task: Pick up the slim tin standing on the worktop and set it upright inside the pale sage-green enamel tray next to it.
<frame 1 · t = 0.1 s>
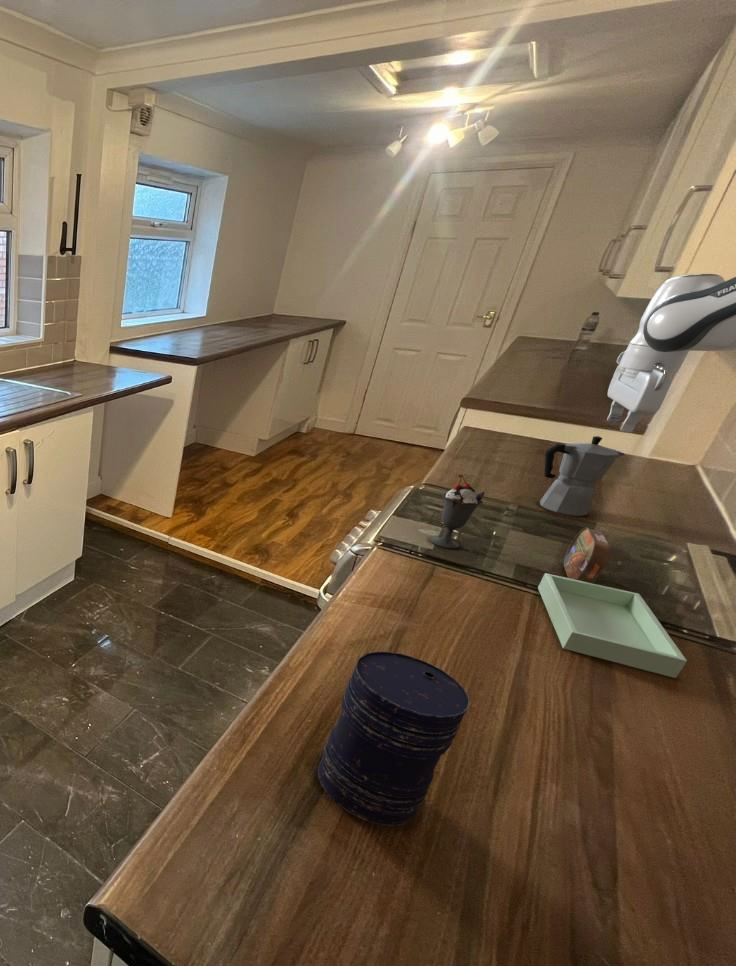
hand: (618, 426, 125), 22 cm above the worktop, tool pointing down, fingers open, 8 cm apart
sundae: (443, 544, 121), on the worktop
tin: (575, 576, 110), on the worktop
tray: (598, 627, 94), on the worktop
navy ribbed drum: (364, 788, 64), on the worktop
coffeepot: (557, 509, 140), on the worktop
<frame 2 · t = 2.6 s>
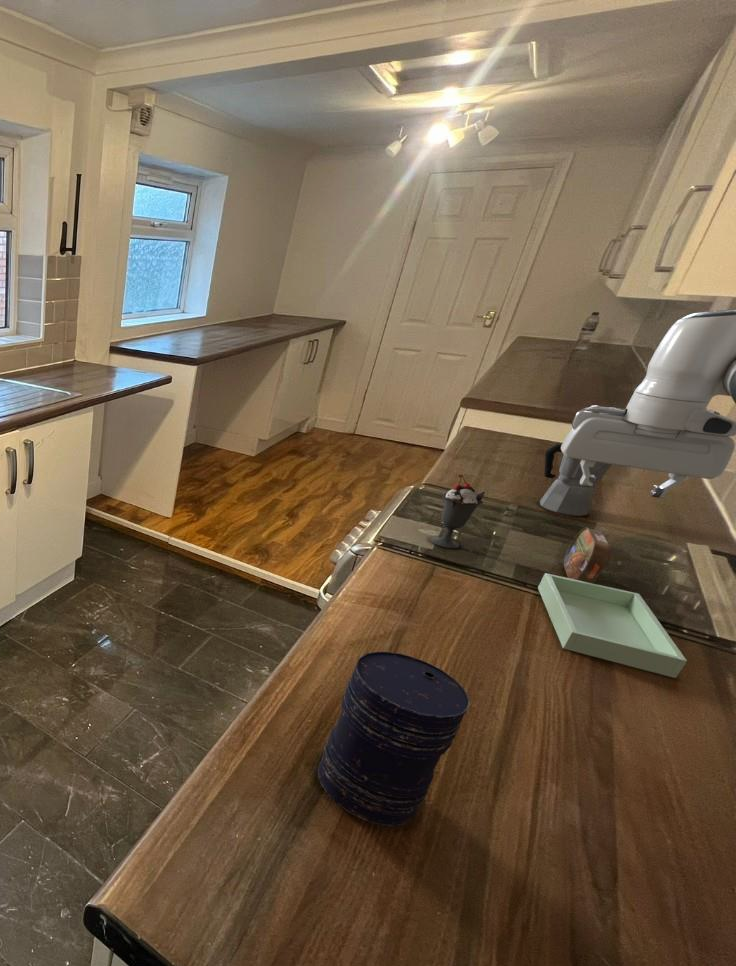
hand: (619, 490, 103), 17 cm above the worktop, tool pointing down, fingers open, 8 cm apart
nothing on the worktop moved.
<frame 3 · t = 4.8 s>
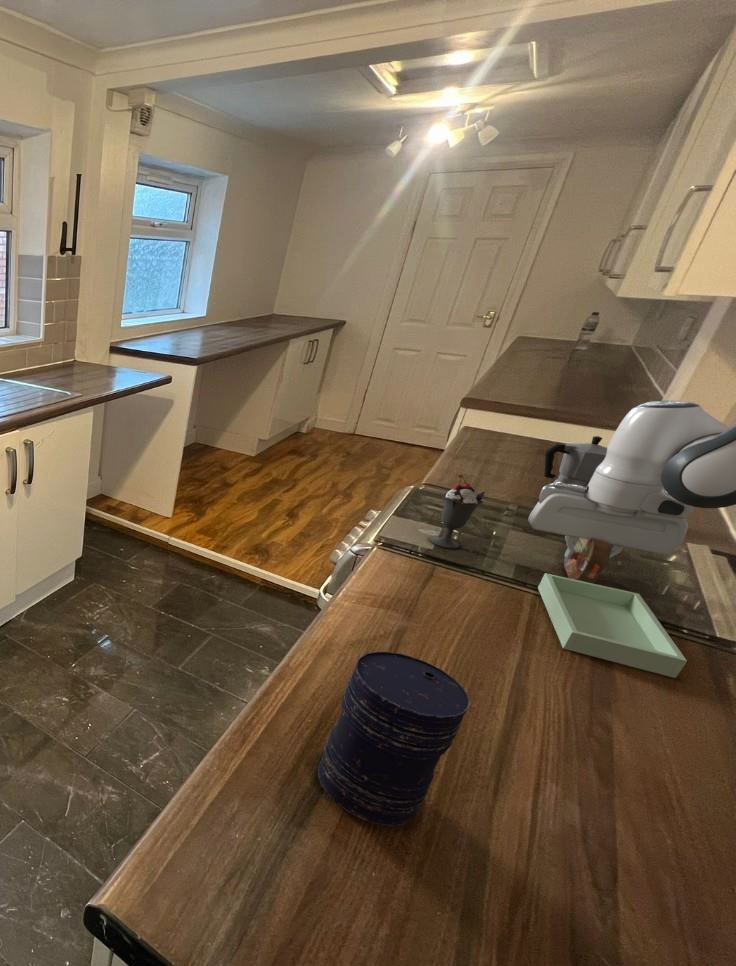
hand: (583, 560, 108), 3 cm above the worktop, tool pointing down, fingers closed on tin, 2 cm apart
tin: (576, 576, 110), on the worktop, touching gripper
everything else where it was.
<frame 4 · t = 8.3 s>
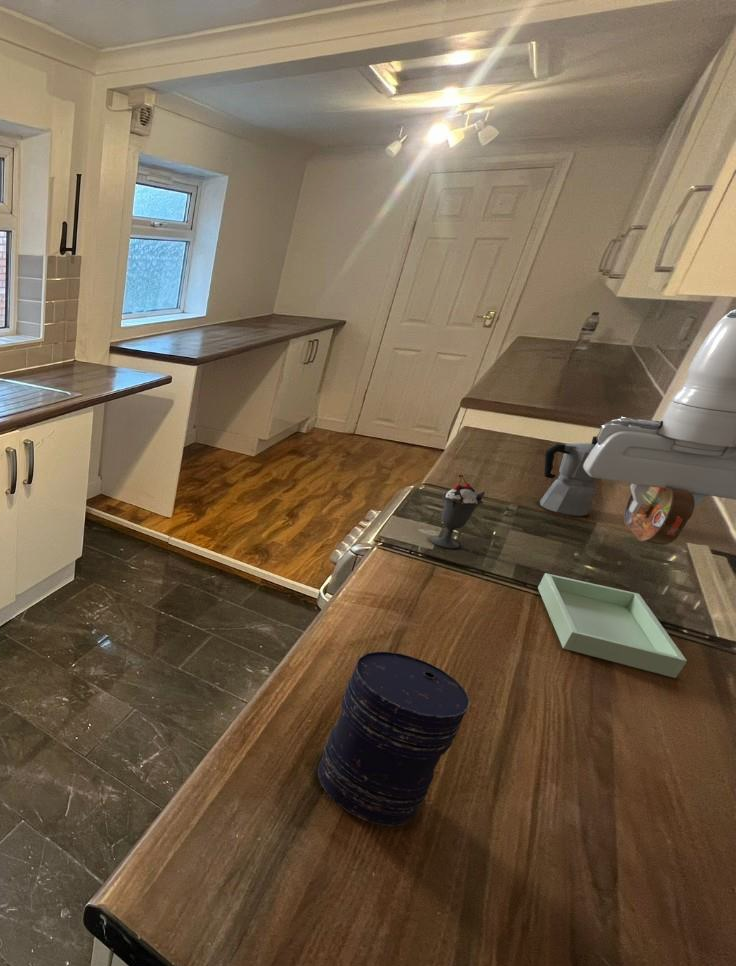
hand: (653, 515, 88), 19 cm above the worktop, tool pointing down, fingers closed on tin, 2 cm apart
tin: (644, 535, 89), point 15 cm above the worktop, touching gripper
everything else where it was.
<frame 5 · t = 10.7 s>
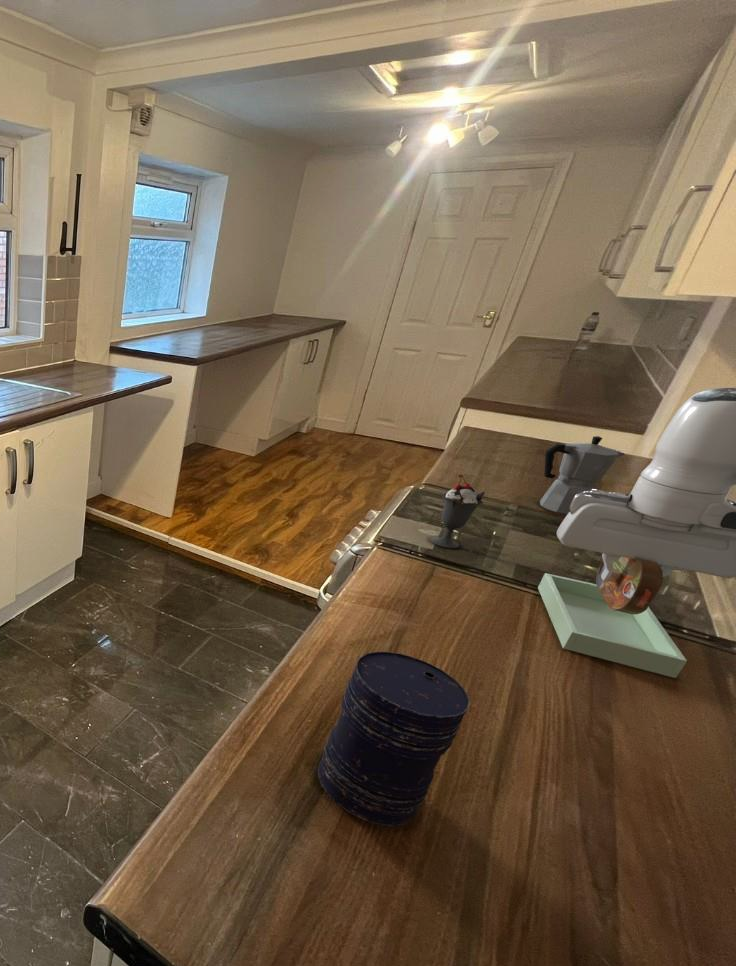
hand: (624, 583, 90), 8 cm above the worktop, tool pointing down, fingers closed on tin, 2 cm apart
tin: (615, 601, 91), point 5 cm above the worktop, touching gripper
everything else where it was.
when the fingers open (4 cm above the worktop, at t = 12.1 s): tin stays where it is, resting on tray.
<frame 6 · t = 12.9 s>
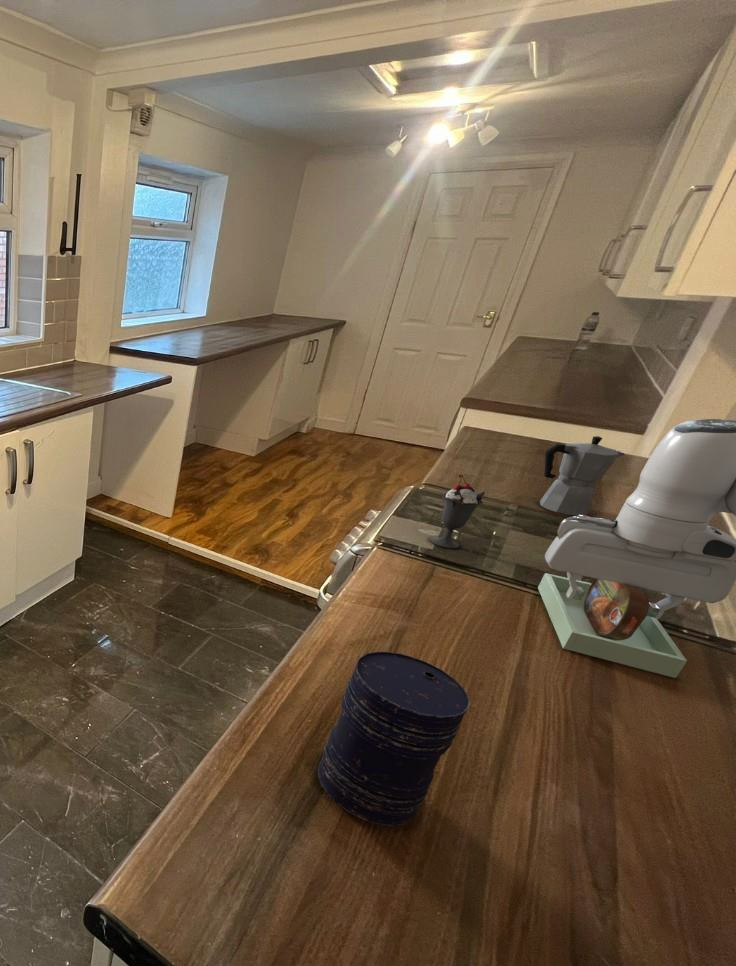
hand: (610, 606, 92), 4 cm above the worktop, tool pointing down, fingers open, 8 cm apart
tin: (601, 626, 93), resting on tray
everything else where it was.
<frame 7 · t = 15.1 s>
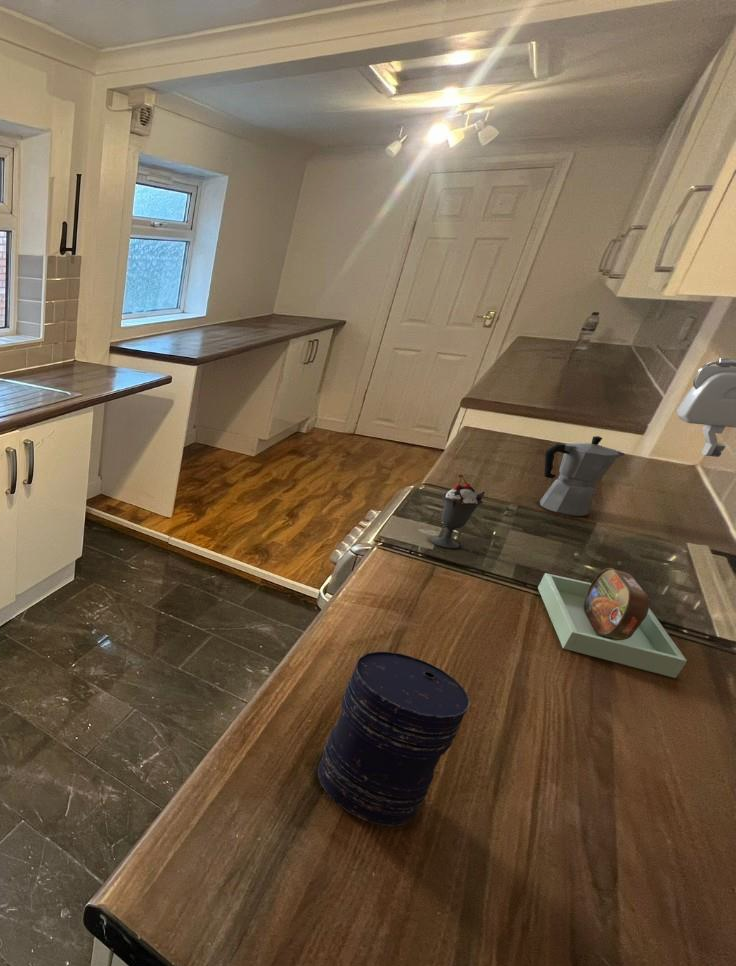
nothing on the worktop moved.
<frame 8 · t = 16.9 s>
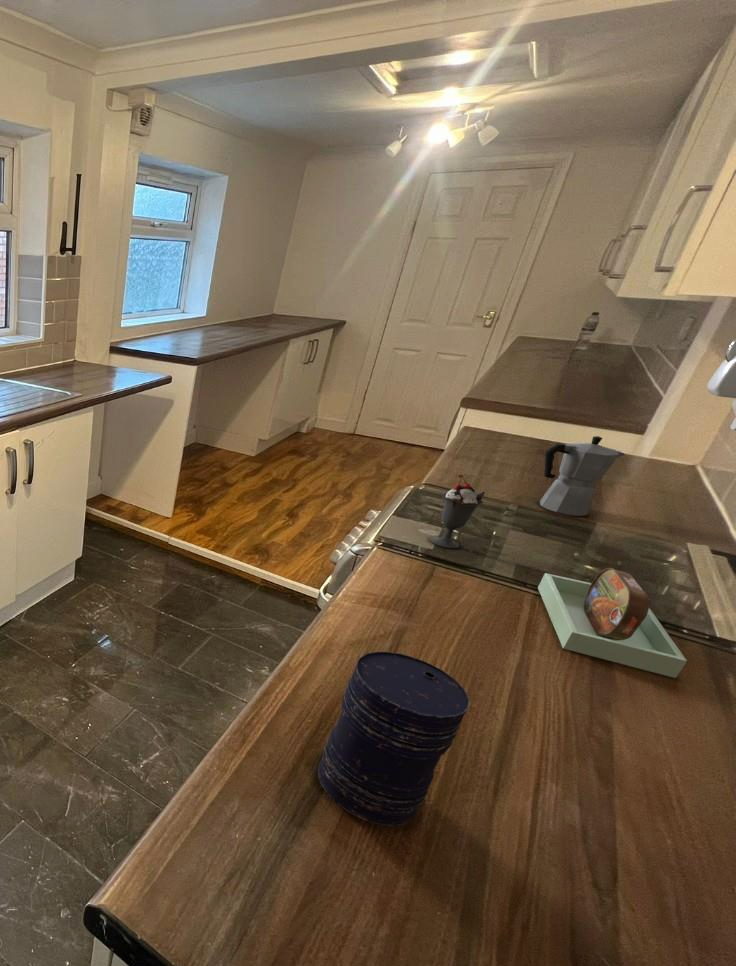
nothing on the worktop moved.
at the end: tin inside the target area in the tray (0.3 cm from its centre), point 0.4 cm above the tray's base; tin tilted 0°; the gripper is holding nothing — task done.
